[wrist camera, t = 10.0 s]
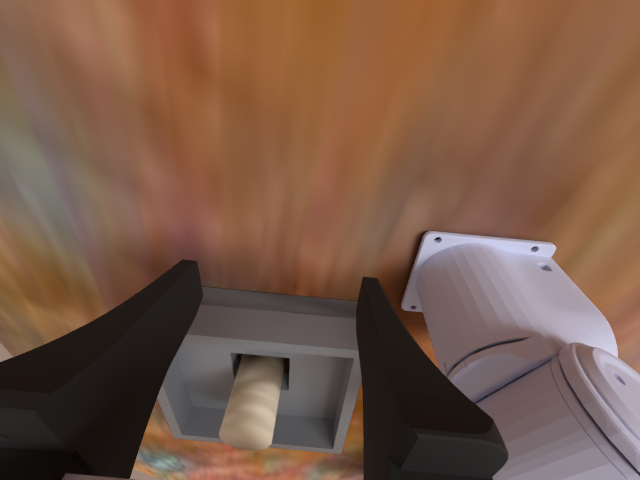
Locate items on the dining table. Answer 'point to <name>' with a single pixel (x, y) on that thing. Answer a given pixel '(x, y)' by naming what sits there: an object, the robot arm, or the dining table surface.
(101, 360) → the robot arm
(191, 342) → the box
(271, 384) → the peg
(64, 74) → the dining table surface
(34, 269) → the dining table surface
